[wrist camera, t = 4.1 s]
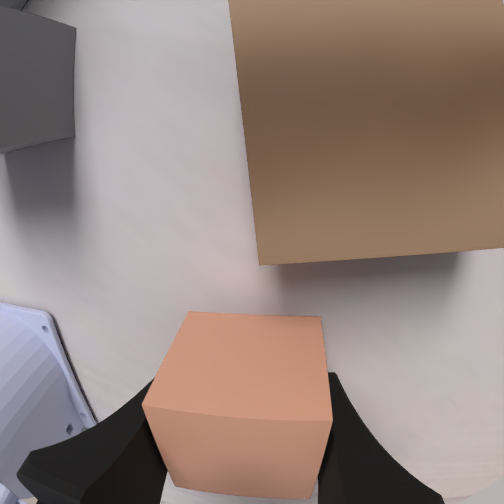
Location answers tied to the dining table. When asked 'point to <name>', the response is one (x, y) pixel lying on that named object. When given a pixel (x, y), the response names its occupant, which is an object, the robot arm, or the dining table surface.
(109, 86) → the dining table surface
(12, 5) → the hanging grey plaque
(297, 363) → the terracotta cube
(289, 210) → the walnut base block
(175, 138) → the dining table surface
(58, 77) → the charcoal cube
